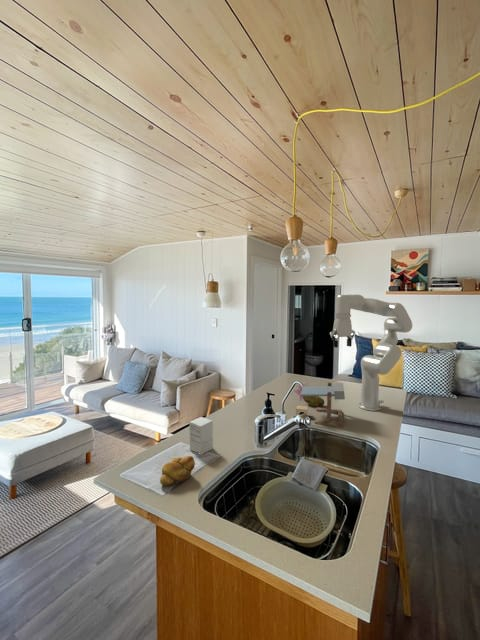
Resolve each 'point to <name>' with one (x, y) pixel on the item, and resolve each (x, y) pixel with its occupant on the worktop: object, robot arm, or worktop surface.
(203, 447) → the supplement box
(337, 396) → the trapdoor
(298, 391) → the lily
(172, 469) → the bread roll
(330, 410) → the stand
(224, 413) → the worktop surface
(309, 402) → the potato
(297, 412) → the tan block
